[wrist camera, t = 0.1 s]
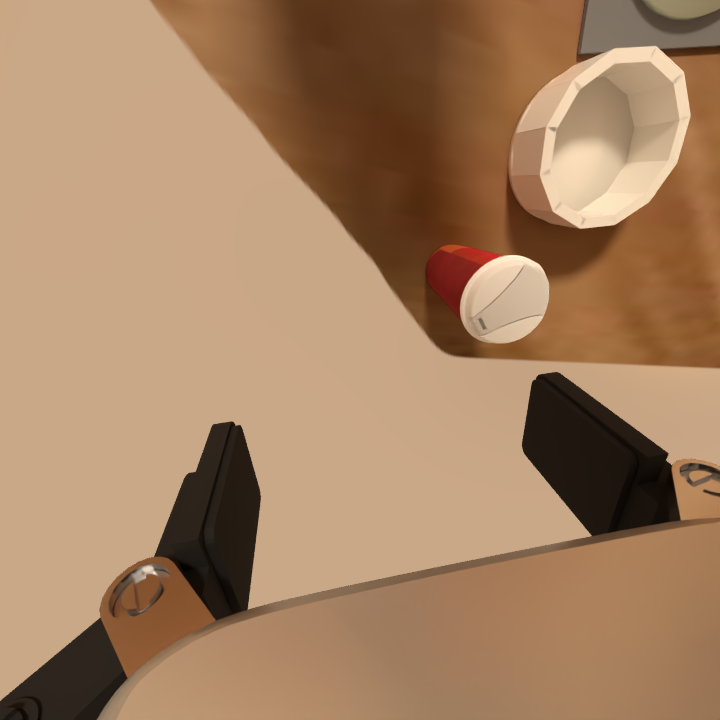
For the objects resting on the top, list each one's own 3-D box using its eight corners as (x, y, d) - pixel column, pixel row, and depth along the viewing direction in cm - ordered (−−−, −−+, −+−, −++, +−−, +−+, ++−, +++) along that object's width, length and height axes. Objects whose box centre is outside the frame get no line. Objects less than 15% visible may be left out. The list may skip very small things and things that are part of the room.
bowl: (516, 71, 34) (556, 51, 29) (649, 63, 36) (711, 42, 30) (501, 227, 41) (531, 234, 35) (615, 214, 42) (660, 219, 37)
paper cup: (434, 312, 44) (488, 364, 32) (404, 260, 41) (451, 295, 28) (490, 276, 43) (568, 315, 31) (464, 219, 40) (540, 236, 27)
